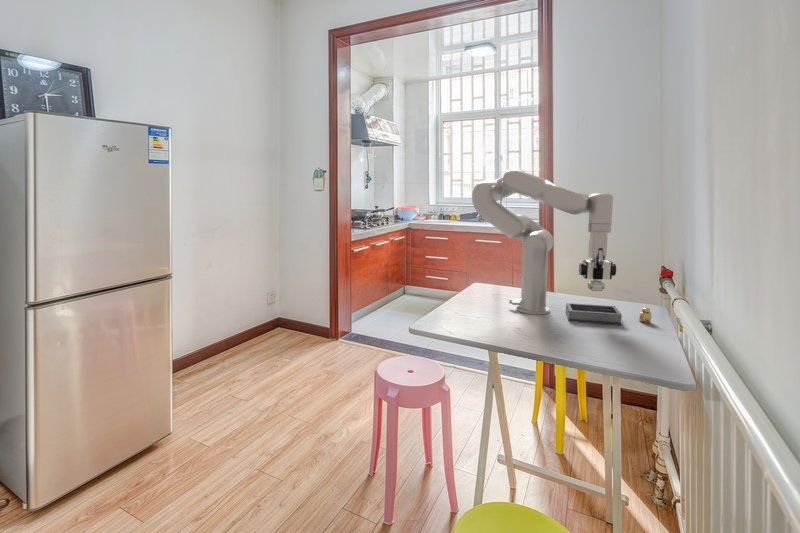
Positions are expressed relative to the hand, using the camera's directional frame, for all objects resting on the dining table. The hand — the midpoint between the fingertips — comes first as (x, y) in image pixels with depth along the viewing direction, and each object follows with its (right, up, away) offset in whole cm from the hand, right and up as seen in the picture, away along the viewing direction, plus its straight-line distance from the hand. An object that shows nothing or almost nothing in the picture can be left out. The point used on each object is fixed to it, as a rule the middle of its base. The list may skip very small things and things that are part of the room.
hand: (596, 277), depth 154 cm
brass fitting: (+17, -16, -1) cm, 24 cm away
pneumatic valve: (0, -5, +1) cm, 5 cm away
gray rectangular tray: (0, -16, +3) cm, 16 cm away
